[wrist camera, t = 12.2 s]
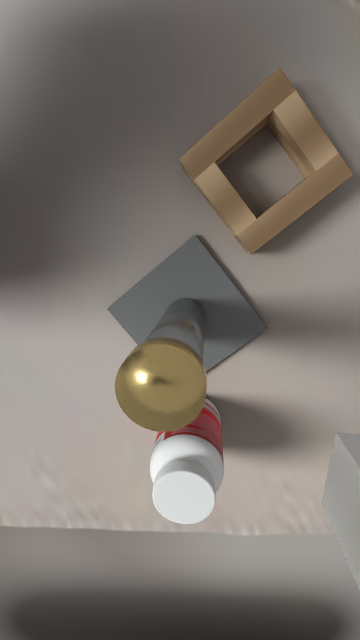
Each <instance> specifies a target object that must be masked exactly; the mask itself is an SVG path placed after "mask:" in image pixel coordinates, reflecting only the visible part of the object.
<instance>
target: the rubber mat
mask: <svg viewBox="0 0 360 640" xmlns="http://www.w3.org/2000/svg"><path fill="white" fill-rule="evenodd" d="M180 298H190V299H193V300H195V301H197V302H198V303H200V304H201V305H202V307H203V308H204V310H205V313H206V330H205V342H204V354H203V363H204V366H205V369H206V372H207V371H208V370H210V369H211V368H212V367H214V366H215V365H216V364H218V363H219V362H221V361H222V360H223V359H225V358H226V357H228V356H229V355H230V354H232V353H233V352H235V351H236V350H237V349H239V348H240V347H242V346H243V345H244V344H246V343H247V342H249V341H250V340H251V339H253V338H254V337H255V336H257V335H258V334H260V333H261V332H262V331H264V330H265V329H267V326H266V325H265V324H264V322H263V321H262V320H261V318H260V317H259V316H258V315H257V313H256V312H255V311H254V309H253V308H252V307H251V306H250V304H249V303H248V302H247V300H246V299H245V298H244V297H243V295H242V294H241V293H240V291H239V290H238V289H237V288H236V286H235V285H234V284H233V283H232V281H231V280H230V279H229V277H228V276H227V275H226V274H225V272H224V271H223V270H222V268H221V267H220V266H219V265H218V263H217V262H216V261H215V259H214V258H213V257H212V256H211V254H210V253H209V252H208V251H207V249H206V248H205V247H204V245H203V244H202V243H201V242H200V240H199V239H198V238H197V236H196V235H195V236H193V237H192V238H191V239H190V240H189V241H187V242H186V243H185V244H184V245H183V246H182V247H180V248H179V249H178V250H177V251H176V252H174V253H173V254H172V255H171V256H170V257H168V258H167V259H166V260H165V261H164V262H162V263H161V264H160V265H159V266H158V267H156V268H155V269H154V270H153V271H152V272H150V273H149V274H148V275H147V276H146V277H145V278H143V279H142V280H141V281H140V282H139V283H137V284H136V285H135V286H134V287H133V288H131V289H130V290H129V291H128V292H127V293H125V294H124V295H123V296H122V297H121V298H119V299H118V300H117V301H116V302H115V303H113V304H112V305H111V306H110V307H109V308H108V310H109V311H110V313H111V314H112V315H113V316H114V317H115V318H116V320H117V321H118V322H119V323H120V324H121V325H122V327H123V328H124V329H125V330H126V331H127V333H128V334H129V335H130V336H131V337H132V338H133V340H134V341H135V342H136V343H137V344H138V345H139V344H141V343H143V342H144V341H146V339H147V338H148V336H149V335H150V333H151V332H152V330H153V329H154V327H155V326H156V324H157V323H158V321H159V320H160V318H161V317H162V315H163V314H164V312H165V311H166V309H167V308H168V306H169V305H170V304H171V303H172V302H174V301H175V300H177V299H180Z"/></svg>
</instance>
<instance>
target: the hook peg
mask: <svg viewBox="0 0 360 640" xmlns="http://www.w3.org/2000/svg"><path fill="white" fill-rule="evenodd" d="M205 330H206V313H205V310H204V308H203V307H202V305H201V304H200V303H198V302H197V301H195V300H193V299H190V298H180V299H177V300H175V301H174V302H172V303H171V304H170V305H169V306H168V308H167V309H166V311H165V312H164V314H163V315H162V317H161V318H160V320H159V321H158V323H157V324H156V326H155V327H154V329H153V330H152V332H151V333H150V335H149V336H148V338H147V339H146V341H144V342H143V343H141V344H139V345H138V346H137V347H136V348H135V349H133V351H132V352H131V353H130V354H129V356H128V357H127V358H126V360H125V361H124V363H123V364H122V365H121V367H120V369H119V371H118V373H117V377H116V382H115V392H116V397H117V400H118V403H119V405H120V407H121V408H122V410H123V411H124V413H125V414H126V415H127V416H128V417H129V418H130V419H131V420H132V421H133V422H135V423H136V424H138V425H140V426H142V427H144V428H146V429H149V430H153V431H162V432H166V431H173V430H177V429H180V428H183V427H185V426H186V425H188V424H190V423H191V422H192V421H193V420H195V418H196V417H197V416H198V415H199V413H200V412H201V410H202V408H203V406H204V403H205V399H206V386H207V374H206V369H205V366H204V363H203V354H204V342H205Z"/></svg>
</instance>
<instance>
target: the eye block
mask: <svg viewBox="0 0 360 640" xmlns="http://www.w3.org/2000/svg"><path fill="white" fill-rule="evenodd" d="M266 124H267V125H268V127H269V128H270V130H271V131H272V132H273V134H274V135H275V137H276V138H277V139H278V141H279V142H280V144H281V145H282V147H283V148H284V149H285V151H286V152H287V154H288V155H289V156H290V158H291V159H292V161H293V162H294V163H295V165H296V166H297V168H298V169H299V170H300V172H301V173H302V175H303V176H304V178H305V179H304V180H303V181H301V182H300V183H299V184H298V185H296V186H295V187H294V188H293V189H292V190H290V191H289V192H288V193H287V194H285V195H284V196H283V197H282V198H280V199H279V200H278V201H277V202H275V203H274V204H273V205H272V206H271V207H269V208H268V209H267V210H266V211H264V212H263V213H262V214H261V215H259V216H258V217H257V218H256V217H255V216H254V215H253V213H252V212H251V211H250V209H249V208H248V207H247V205H246V204H245V203H244V201H243V200H242V198H241V197H240V196H239V194H238V193H237V192H236V190H235V189H234V188H233V186H232V185H231V184H230V182H229V181H228V180H227V178H226V177H225V176H224V174H223V173H222V172H221V170H220V169H219V168H218V166H219V165H220V164H222V163H223V162H224V161H225V160H226V159H227V158H228V157H229V156H231V155H232V154H233V153H234V152H235V151H236V150H237V149H239V148H240V147H241V146H242V145H243V144H244V143H245V142H247V141H248V140H249V139H250V138H251V137H252V136H253V135H255V134H256V133H257V132H258V131H259V130H260V129H261V128H263V127H264V126H265V125H266ZM179 161H180V163H181V166H182V168H183V169H184V171H185V172H186V173H187V175H188V176H189V177H190V179H191V180H192V181H193V182H194V184H195V185H196V186H197V188H198V189H199V190H200V192H201V193H202V194H203V196H204V197H205V198H206V199H207V201H208V202H209V203H210V205H211V206H212V207H213V209H214V210H215V211H216V213H217V214H218V215H219V217H220V218H221V219H222V220H223V222H224V223H225V224H226V226H227V227H228V228H229V230H230V231H231V232H232V234H233V235H234V236H235V238H236V239H237V240H238V241H239V243H240V244H241V245H242V247H243V248H244V249H245V251H246V252H247V253H248V254H253V253H254V252H255V251H257V250H258V249H259V248H260V247H262V246H263V245H264V244H265V243H267V242H268V241H269V240H271V239H272V238H273V237H274V236H276V235H277V234H278V233H279V232H281V231H282V230H283V229H285V228H286V227H287V226H288V225H290V224H291V223H292V222H293V221H295V220H296V219H297V218H299V217H300V216H301V215H302V214H304V213H305V212H306V211H307V210H309V209H310V208H311V207H313V206H314V205H315V204H316V203H318V202H319V201H320V200H321V199H323V198H324V197H325V196H327V195H328V194H329V193H330V192H332V191H333V190H334V189H335V188H337V187H338V186H339V185H341V184H342V183H343V182H344V181H346V180H347V179H348V178H350V177H351V176H352V175H353V173H352V172H351V170H350V169H349V167H348V166H347V164H346V163H345V161H344V160H343V158H342V157H341V156H340V154H339V153H338V151H337V150H336V148H335V147H334V145H333V144H332V142H331V141H330V139H329V138H328V137H327V135H326V134H325V132H324V131H323V129H322V128H321V126H320V125H319V123H318V122H317V120H316V119H315V118H314V116H313V115H312V113H311V112H310V110H309V109H308V107H307V106H306V104H305V103H304V102H303V100H302V99H301V97H300V96H299V94H298V93H297V91H296V90H295V88H294V87H293V85H292V84H291V83H290V81H289V80H288V78H287V77H286V75H285V74H284V72H283V71H282V69H281V68H280V67H279V68H278V69H277V70H276V71H275V72H274V73H273V74H271V75H270V76H269V77H268V78H267V79H266V80H265V81H264V82H263V83H262V84H260V85H259V86H258V87H257V88H256V89H255V90H254V91H253V92H252V93H251V94H250V95H248V96H247V97H246V98H245V99H244V100H243V101H242V102H241V103H240V104H239V105H237V106H236V107H235V108H234V109H233V110H232V111H231V112H230V113H229V114H228V115H227V116H225V117H224V118H223V119H222V120H221V121H220V122H219V123H218V124H217V125H216V126H214V127H213V128H212V129H211V130H210V131H209V132H208V133H207V134H206V135H205V136H204V137H202V138H201V139H200V140H199V141H198V142H197V143H196V144H195V145H194V146H193V147H191V148H190V149H189V150H188V151H187V152H186V153H185V154H184V155H183V156H182V157H181V158H179Z"/></svg>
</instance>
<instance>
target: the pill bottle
mask: <svg viewBox="0 0 360 640" xmlns="http://www.w3.org/2000/svg"><path fill="white" fill-rule="evenodd" d="M223 465H224V464H223V448H222V432H221V419H220V415H219V412H218V410H217V408H216V407H215V406H214V404H213V403H212V402H210V401H209V400H208V399H205V403H204V406H203V408H202V410H201V412H200V413H199V415H198V416H197V417H196V418H195V420H193V421H192V422H191V423H190V424H188V425H186V426H185V427H183V428H180V429H177V430H173V431H166V432H162V431H158V434H157V437H156V441H155V445H154V449H153V453H152V456H151V461H150V474H151V478H152V481H153V483H154V486H153V492H152V497H153V502H154V505H155V507H156V509H157V510H158V511H159V512H160V513H161V514H162V515H163V516H164V517H165V518H167V519H169V520H170V521H173V522H176V523H180V524H193V523H197V522H200V521H202V520H203V519H205V518H206V517H208V516H209V514H210V513H211V512H212V510H213V508H214V505H215V494H216V491H217V490H218V489H219V487H220V485H221V483H222V479H223V474H224V466H223Z"/></svg>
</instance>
